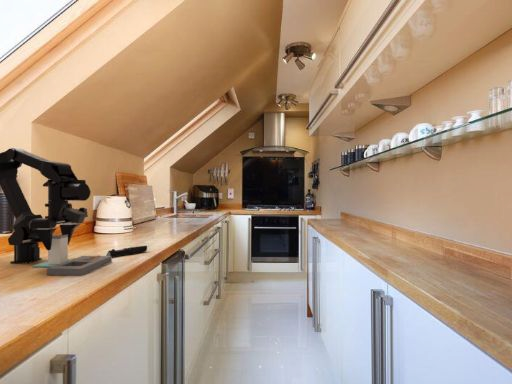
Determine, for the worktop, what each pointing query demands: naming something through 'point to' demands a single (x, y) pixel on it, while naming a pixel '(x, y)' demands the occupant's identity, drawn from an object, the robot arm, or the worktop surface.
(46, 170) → the robot arm
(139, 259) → the worktop surface
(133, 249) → the electric trimmer
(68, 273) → the grey panel
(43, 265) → the teal mat
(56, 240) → the beige grey rectangular block
